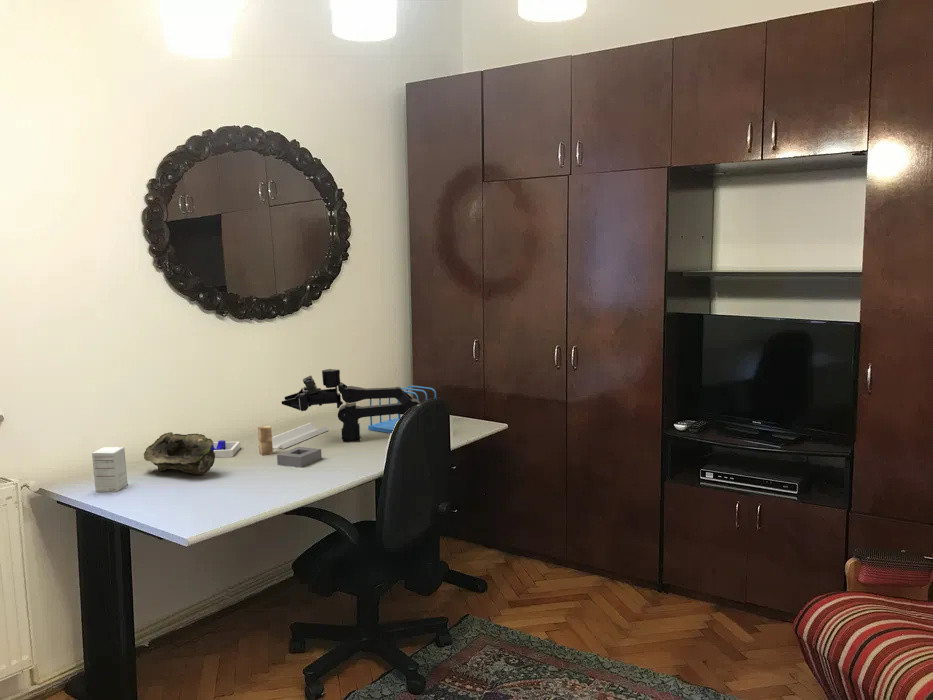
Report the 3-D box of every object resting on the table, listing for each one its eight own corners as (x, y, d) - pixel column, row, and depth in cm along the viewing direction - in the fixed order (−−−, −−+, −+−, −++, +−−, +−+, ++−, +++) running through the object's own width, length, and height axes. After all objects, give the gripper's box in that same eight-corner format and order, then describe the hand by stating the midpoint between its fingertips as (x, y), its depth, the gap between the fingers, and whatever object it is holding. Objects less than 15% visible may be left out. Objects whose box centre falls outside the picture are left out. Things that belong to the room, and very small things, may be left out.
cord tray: (240, 447, 301) (239, 441, 300) (232, 456, 288) (232, 450, 287) (205, 449, 300) (204, 442, 300) (196, 458, 287) (195, 451, 287)
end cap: (298, 456, 287) (298, 446, 286) (321, 458, 282) (321, 449, 282) (277, 464, 276) (276, 454, 275) (301, 467, 272) (300, 457, 271)
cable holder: (214, 456, 290) (214, 445, 289) (207, 455, 291) (206, 445, 290) (229, 451, 297) (228, 440, 296) (221, 450, 298) (220, 440, 298)
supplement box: (105, 485, 256) (102, 446, 255) (128, 484, 256) (125, 446, 255) (94, 492, 249) (91, 452, 248) (117, 491, 249) (114, 452, 247)
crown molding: (283, 451, 297) (283, 441, 296) (257, 449, 301) (256, 439, 301) (328, 432, 326) (327, 423, 325) (303, 430, 330) (302, 422, 330)
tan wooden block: (270, 452, 293) (268, 425, 292) (272, 453, 291) (271, 427, 290) (259, 453, 291) (257, 427, 290) (262, 455, 289) (260, 428, 287)
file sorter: (400, 435, 315) (398, 397, 313) (367, 430, 325) (366, 393, 323) (439, 423, 335) (438, 387, 333) (407, 419, 345) (406, 384, 343)
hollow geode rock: (214, 490, 263) (237, 451, 270) (190, 472, 254) (215, 432, 261) (160, 477, 278) (183, 440, 285) (135, 458, 269) (160, 421, 276)
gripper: (324, 372, 314) (284, 375, 312) (320, 380, 295) (277, 383, 294) (326, 400, 315) (286, 403, 314) (323, 409, 297) (280, 413, 295)
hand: (283, 400), depth 304 cm, fingers open, 9 cm apart
